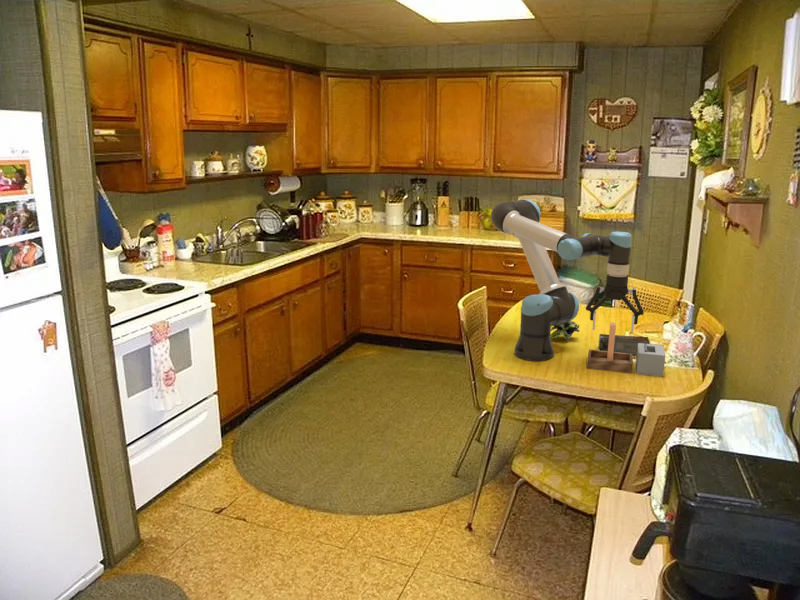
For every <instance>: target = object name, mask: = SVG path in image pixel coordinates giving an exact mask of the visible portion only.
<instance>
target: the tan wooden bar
mask: <svg viewBox="0 0 800 600" xmlns="http://www.w3.org/2000/svg"><path fill="white" fill-rule="evenodd" d="M616 328H617V324H616V322H610V324H609V334H608V335H609V343H608V354H607V361H613V353H614V342H615V335H616Z"/></svg>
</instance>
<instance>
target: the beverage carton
mask: <svg viewBox="0 0 800 600" xmlns="http://www.w3.org/2000/svg"><path fill="white" fill-rule="evenodd" d="M598 335H599V337H598V350H599V351H608V343H609V334H606V333H604V334H603V333H599V334H598ZM638 343H643V344H651V343H650V340H649V337H648V336H642V335H641V336H640V335H639V336H638V335H637V336H635V335H634V336H633V335H632V336H631V335H620V334H615V342H614V352H619V353H629V354H633V356H637V346H638Z"/></svg>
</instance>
